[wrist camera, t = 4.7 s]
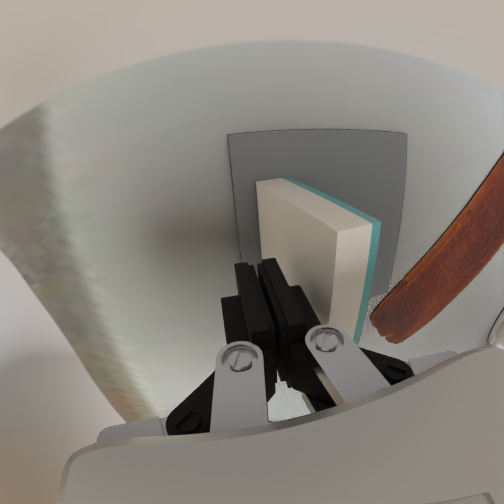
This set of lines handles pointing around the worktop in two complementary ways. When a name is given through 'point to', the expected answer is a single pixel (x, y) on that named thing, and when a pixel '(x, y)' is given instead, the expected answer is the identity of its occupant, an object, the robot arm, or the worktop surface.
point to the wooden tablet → (447, 263)
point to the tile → (320, 249)
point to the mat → (324, 180)
